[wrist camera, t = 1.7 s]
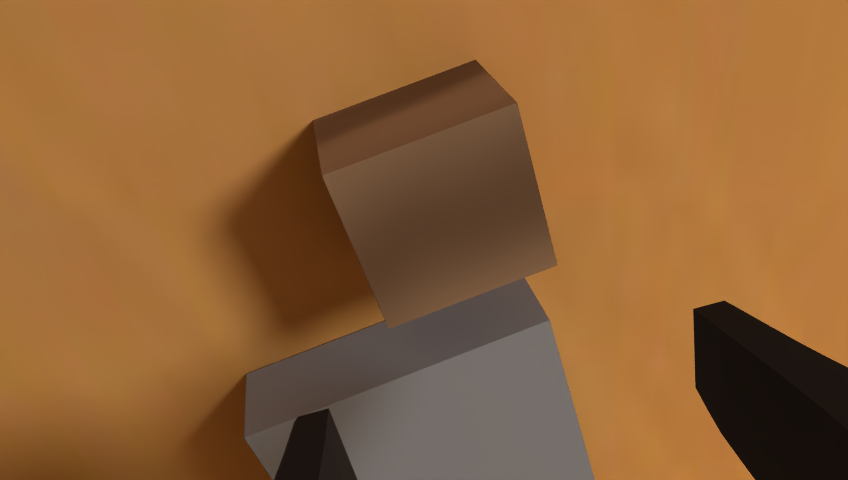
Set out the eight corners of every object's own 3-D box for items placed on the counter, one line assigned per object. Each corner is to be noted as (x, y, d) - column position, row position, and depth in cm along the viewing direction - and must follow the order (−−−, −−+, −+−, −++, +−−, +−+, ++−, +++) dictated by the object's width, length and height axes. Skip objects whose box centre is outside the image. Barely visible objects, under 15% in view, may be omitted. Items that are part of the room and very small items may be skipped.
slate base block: (246, 374, 24) (244, 437, 21) (519, 269, 24) (549, 320, 21) (351, 540, 29) (359, 608, 26) (574, 454, 29) (604, 513, 27)
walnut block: (312, 119, 20) (321, 176, 17) (474, 58, 20) (517, 102, 17) (370, 255, 23) (388, 328, 19) (513, 201, 23) (557, 265, 19)
